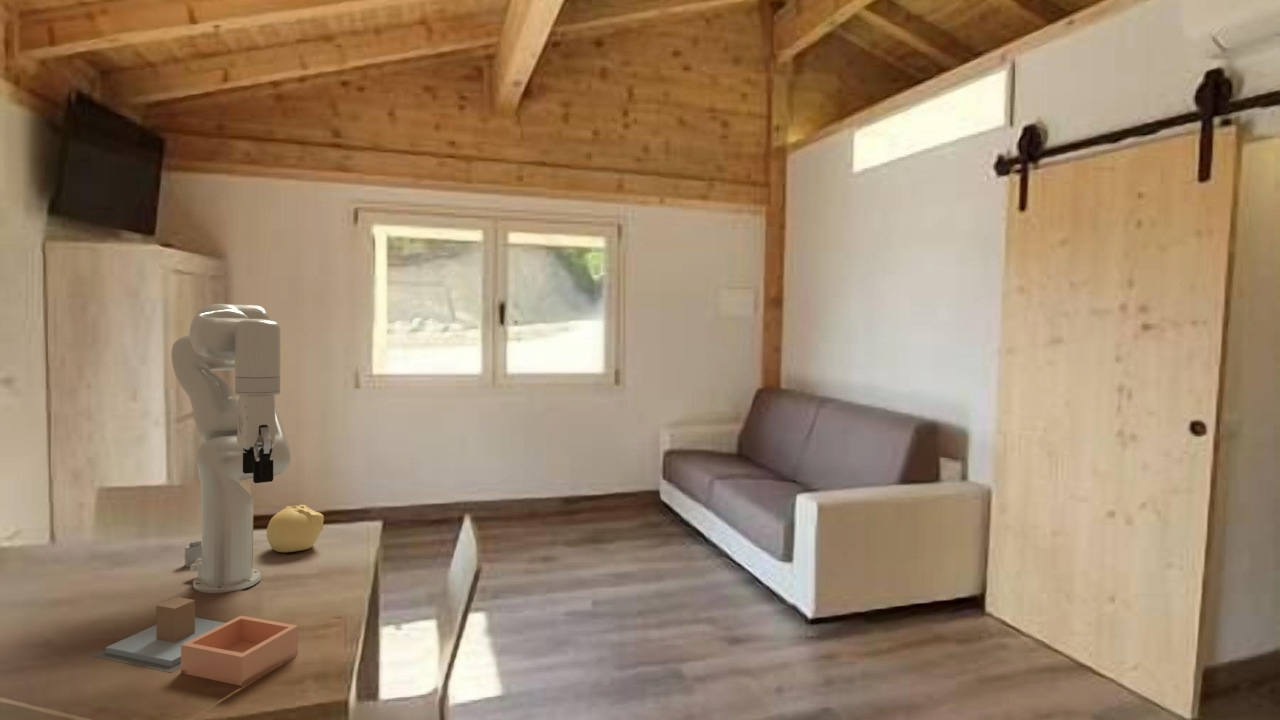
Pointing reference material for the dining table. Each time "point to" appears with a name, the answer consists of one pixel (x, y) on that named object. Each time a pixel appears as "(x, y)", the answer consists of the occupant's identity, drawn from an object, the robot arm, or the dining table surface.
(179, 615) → the lid
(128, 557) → the dining table surface
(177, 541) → the dining table surface
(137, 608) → the dining table surface
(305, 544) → the sculpture
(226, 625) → the peach open tray
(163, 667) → the mat
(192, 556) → the lighter
